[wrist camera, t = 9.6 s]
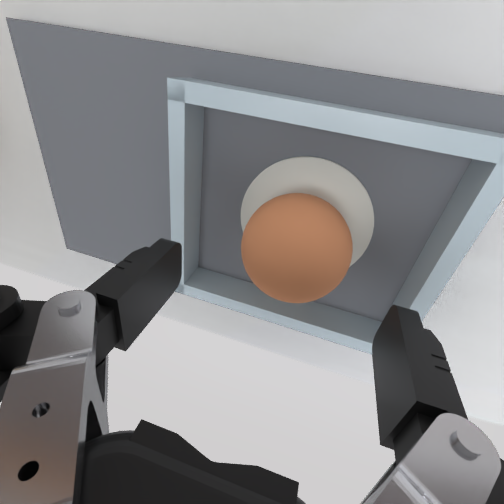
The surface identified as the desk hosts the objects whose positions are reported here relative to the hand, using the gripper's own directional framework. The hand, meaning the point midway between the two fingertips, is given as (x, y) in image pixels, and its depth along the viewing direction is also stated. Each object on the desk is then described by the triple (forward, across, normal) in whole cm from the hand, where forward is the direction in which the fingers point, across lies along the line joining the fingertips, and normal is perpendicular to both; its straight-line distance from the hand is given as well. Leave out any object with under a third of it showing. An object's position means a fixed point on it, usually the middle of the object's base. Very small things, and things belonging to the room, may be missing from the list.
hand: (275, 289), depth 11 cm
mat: (+6, +5, 0) cm, 8 cm away
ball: (+6, 0, 0) cm, 6 cm away
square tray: (+6, 0, 0) cm, 6 cm away
